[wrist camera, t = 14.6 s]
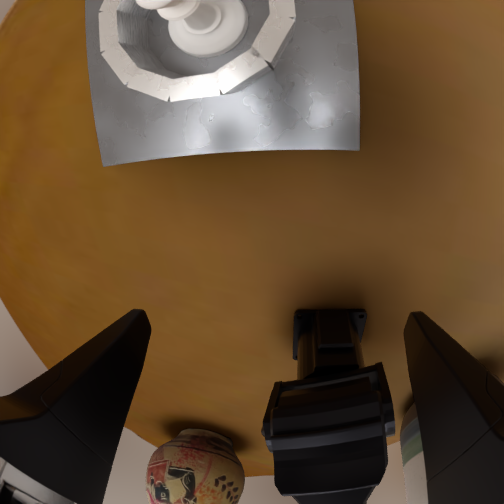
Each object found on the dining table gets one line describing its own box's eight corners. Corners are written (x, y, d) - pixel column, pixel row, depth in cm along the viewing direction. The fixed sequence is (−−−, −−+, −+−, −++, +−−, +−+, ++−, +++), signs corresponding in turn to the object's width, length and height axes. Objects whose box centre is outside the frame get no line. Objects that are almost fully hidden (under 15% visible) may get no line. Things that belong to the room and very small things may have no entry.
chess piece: (171, -5, 13) (81, -54, 5) (248, -13, 13) (210, -91, 4) (170, 61, 16) (71, 52, 7) (248, 55, 15) (205, 22, 7)
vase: (496, 338, 26) (555, 507, 5) (497, 390, 32) (529, 512, 11) (379, 397, 32) (393, 573, 12) (409, 433, 38) (421, 557, 18)
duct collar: (356, 147, 18) (376, 166, 14) (109, 163, 21) (72, 185, 16) (335, -80, 9) (345, -113, 5) (93, -38, 12) (56, -52, 7)
